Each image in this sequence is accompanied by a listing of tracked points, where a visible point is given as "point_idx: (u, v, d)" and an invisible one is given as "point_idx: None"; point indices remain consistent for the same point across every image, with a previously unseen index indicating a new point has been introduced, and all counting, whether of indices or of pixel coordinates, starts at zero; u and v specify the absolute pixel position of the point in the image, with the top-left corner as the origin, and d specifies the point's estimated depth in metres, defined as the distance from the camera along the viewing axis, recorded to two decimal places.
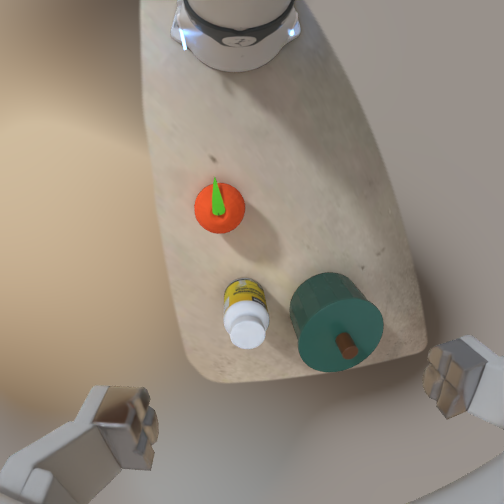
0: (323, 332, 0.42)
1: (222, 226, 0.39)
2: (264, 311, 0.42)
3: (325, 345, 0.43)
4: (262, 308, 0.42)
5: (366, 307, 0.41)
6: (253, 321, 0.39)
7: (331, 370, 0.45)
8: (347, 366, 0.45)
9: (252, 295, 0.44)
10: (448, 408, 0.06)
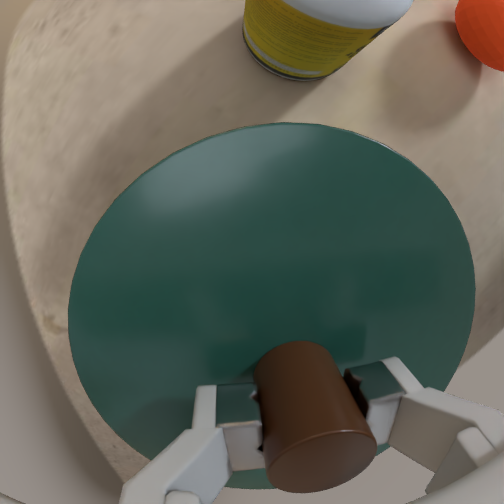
0: (352, 263, 0.08)
1: None
2: (399, 12, 0.07)
3: (256, 292, 0.08)
4: (405, 10, 0.07)
5: None
6: None
7: (83, 359, 0.08)
8: (119, 418, 0.08)
9: None
10: None
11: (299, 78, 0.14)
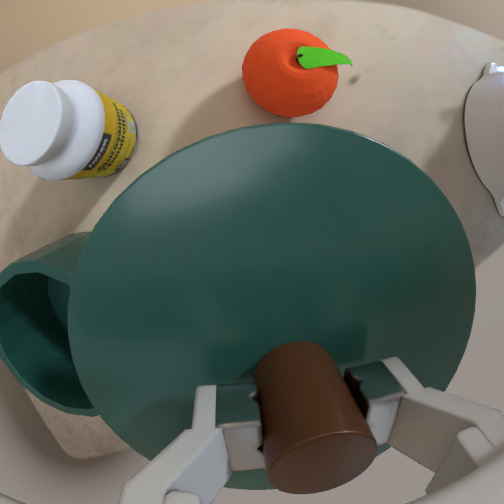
0: (353, 263, 0.08)
1: (270, 63, 0.16)
2: (80, 162, 0.15)
3: (257, 293, 0.08)
4: (86, 156, 0.15)
5: None
6: (59, 126, 0.12)
7: (83, 359, 0.08)
8: (119, 419, 0.08)
9: (112, 138, 0.17)
10: None
11: None
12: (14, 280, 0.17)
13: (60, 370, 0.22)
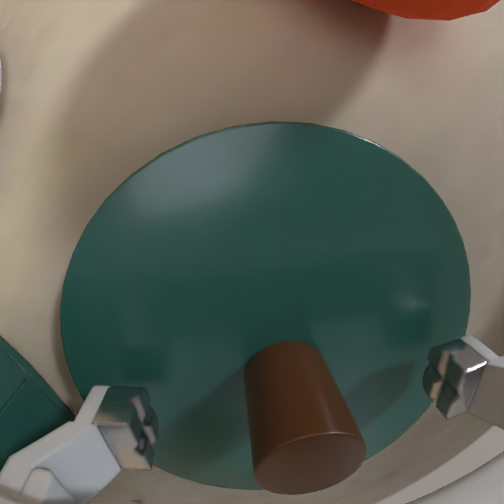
0: (343, 263, 0.08)
1: None
2: None
3: (246, 292, 0.08)
4: None
5: (415, 407, 0.09)
6: None
7: (76, 357, 0.08)
8: None
9: None
10: (448, 408, 0.06)
11: None
12: None
13: None
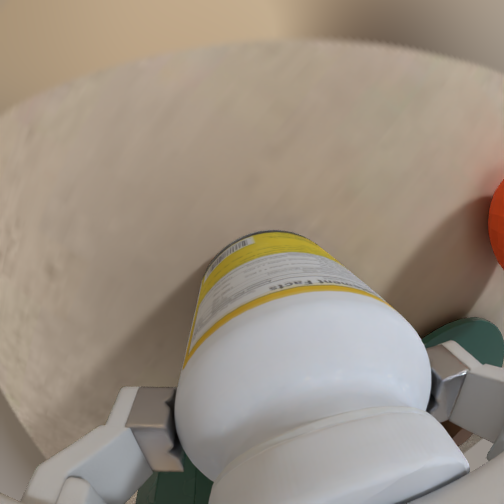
0: None
1: None
2: None
3: None
4: None
5: None
6: None
7: None
8: None
9: None
10: None
11: None
12: None
13: None
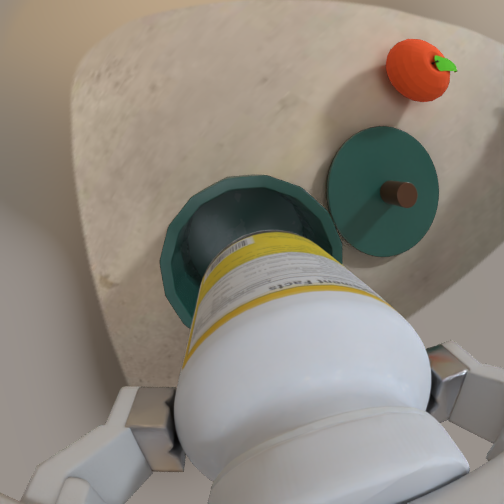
0: (401, 161, 0.28)
1: (419, 62, 0.20)
2: None
3: (381, 165, 0.28)
4: None
5: (427, 218, 0.29)
6: None
7: (333, 184, 0.28)
8: (338, 210, 0.29)
9: None
10: None
11: None
12: None
13: None
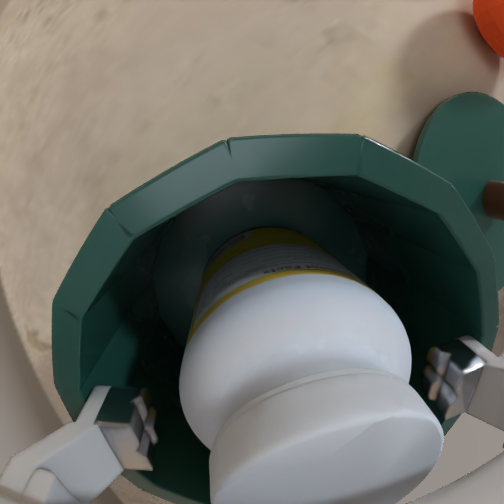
0: None
1: None
2: None
3: (484, 154, 0.14)
4: None
5: None
6: None
7: None
8: None
9: None
10: (446, 409, 0.06)
11: None
12: (152, 229, 0.07)
13: None
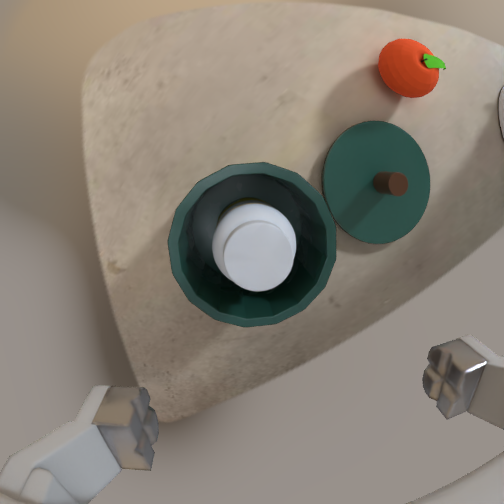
0: (393, 153, 0.30)
1: (409, 60, 0.22)
2: None
3: (374, 157, 0.30)
4: None
5: (419, 208, 0.31)
6: (291, 266, 0.20)
7: (328, 174, 0.30)
8: (333, 199, 0.30)
9: None
10: (448, 408, 0.06)
11: None
12: None
13: (219, 293, 0.27)
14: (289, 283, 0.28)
